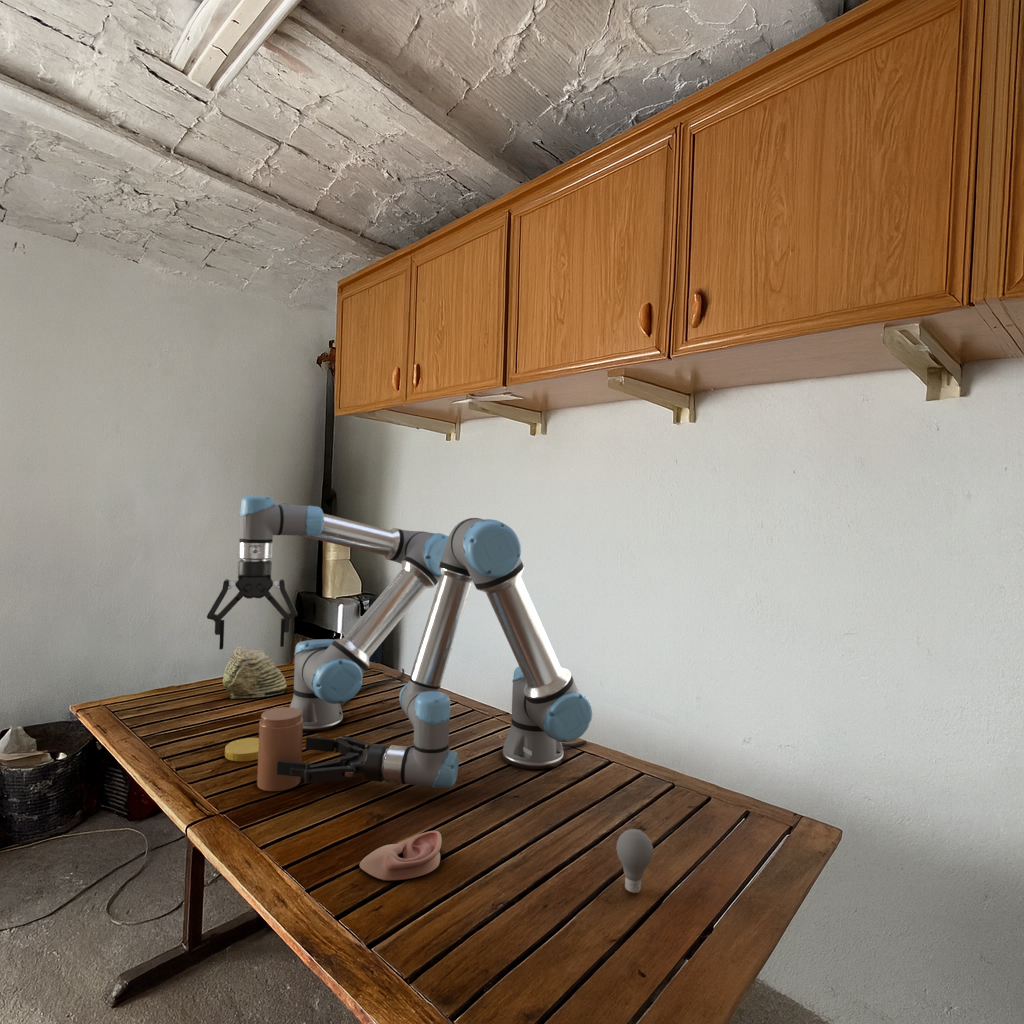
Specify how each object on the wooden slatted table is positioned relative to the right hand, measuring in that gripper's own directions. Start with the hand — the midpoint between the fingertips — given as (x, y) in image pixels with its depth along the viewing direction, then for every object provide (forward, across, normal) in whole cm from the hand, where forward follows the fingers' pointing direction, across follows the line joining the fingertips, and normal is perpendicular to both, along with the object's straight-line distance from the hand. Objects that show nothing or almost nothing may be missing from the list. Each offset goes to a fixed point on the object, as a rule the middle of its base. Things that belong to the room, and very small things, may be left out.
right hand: (292, 754), depth 139 cm
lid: (+18, +13, -5) cm, 22 cm away
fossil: (+39, +54, -6) cm, 67 cm away
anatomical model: (-32, -25, -6) cm, 41 cm away
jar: (+3, 0, -6) cm, 7 cm away
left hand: (+17, +13, +20) cm, 29 cm away
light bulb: (-72, -25, -6) cm, 77 cm away
